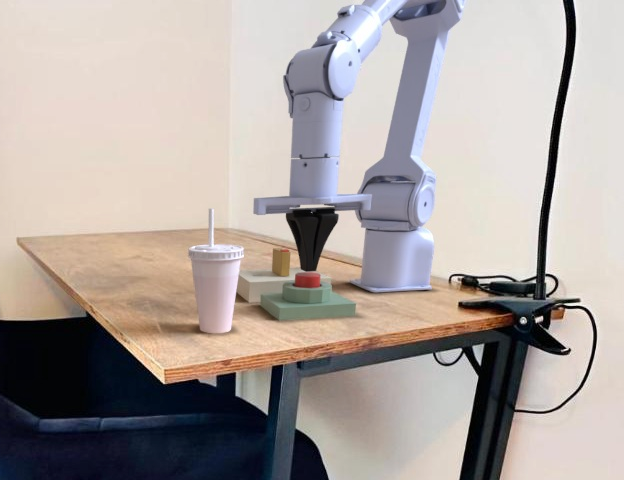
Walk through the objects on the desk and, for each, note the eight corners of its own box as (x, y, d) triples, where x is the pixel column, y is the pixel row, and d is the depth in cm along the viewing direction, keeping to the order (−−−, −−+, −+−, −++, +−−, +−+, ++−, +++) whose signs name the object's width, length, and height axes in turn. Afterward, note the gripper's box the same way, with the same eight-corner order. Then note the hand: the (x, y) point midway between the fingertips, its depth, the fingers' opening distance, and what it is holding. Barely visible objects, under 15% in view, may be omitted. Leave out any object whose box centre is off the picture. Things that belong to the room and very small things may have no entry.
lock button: (313, 284, 74) (314, 271, 73) (323, 289, 71) (324, 276, 70) (290, 285, 73) (291, 272, 73) (299, 290, 70) (300, 277, 70)
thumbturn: (271, 271, 84) (272, 246, 82) (280, 271, 84) (281, 246, 83) (280, 276, 80) (282, 250, 79) (289, 276, 80) (290, 250, 79)
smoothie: (190, 322, 69) (189, 207, 65) (241, 322, 69) (244, 205, 64) (187, 336, 63) (185, 211, 59) (243, 337, 63) (246, 210, 58)
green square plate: (329, 301, 77) (331, 277, 76) (355, 316, 70) (357, 289, 69) (260, 305, 76) (260, 280, 75) (279, 321, 69) (280, 293, 68)
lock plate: (306, 285, 88) (307, 265, 87) (330, 298, 79) (331, 276, 78) (233, 289, 86) (233, 269, 85) (249, 303, 78) (249, 280, 77)
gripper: (267, 159, 62) (263, 279, 67) (388, 156, 64) (376, 272, 68) (249, 160, 69) (247, 268, 73) (360, 156, 70) (351, 263, 75)
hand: (308, 270), depth 71 cm, fingers closed
